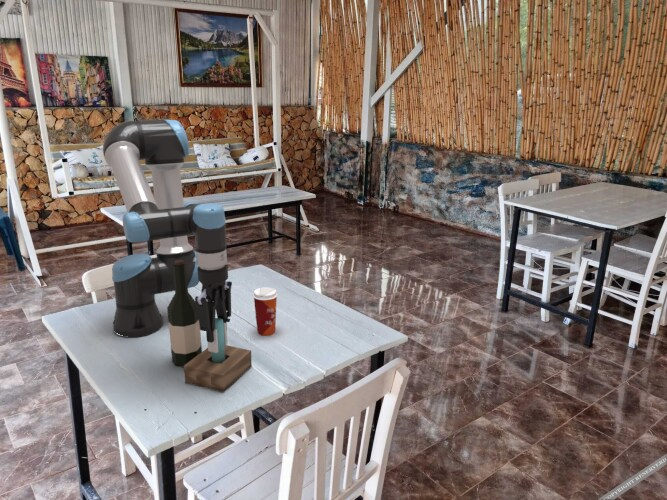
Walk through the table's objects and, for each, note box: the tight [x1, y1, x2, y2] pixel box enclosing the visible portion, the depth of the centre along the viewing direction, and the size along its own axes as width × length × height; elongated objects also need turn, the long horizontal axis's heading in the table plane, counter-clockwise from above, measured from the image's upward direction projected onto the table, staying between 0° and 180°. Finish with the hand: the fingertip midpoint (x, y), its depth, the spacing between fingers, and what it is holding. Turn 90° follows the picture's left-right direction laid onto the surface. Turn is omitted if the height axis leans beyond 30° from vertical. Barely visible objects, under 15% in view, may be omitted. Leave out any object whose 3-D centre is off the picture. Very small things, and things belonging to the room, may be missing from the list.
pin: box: [211, 317, 225, 364], centre depth 140 cm, size 4×4×13 cm
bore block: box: [183, 344, 253, 394], centre depth 142 cm, size 12×14×5 cm
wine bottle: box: [166, 260, 203, 368], centre depth 146 cm, size 8×8×30 cm
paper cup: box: [252, 286, 279, 337], centre depth 165 cm, size 8×8×14 cm
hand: (217, 347), depth 141 cm, fingers closed on pin, 3 cm apart
